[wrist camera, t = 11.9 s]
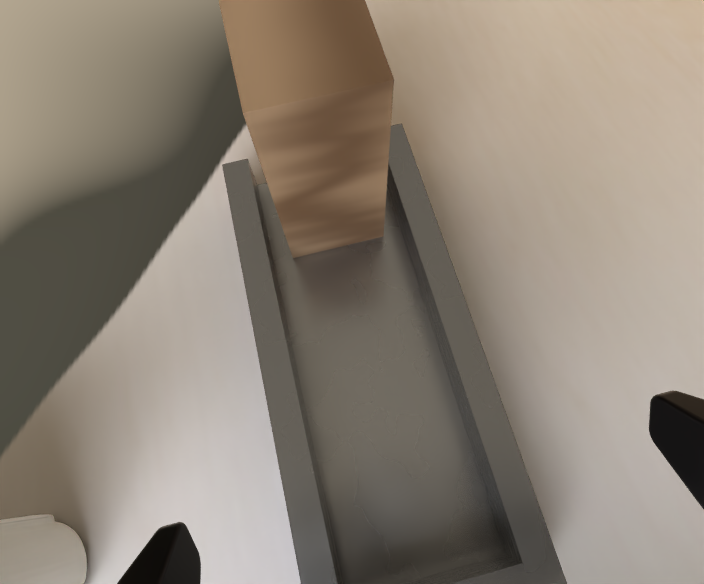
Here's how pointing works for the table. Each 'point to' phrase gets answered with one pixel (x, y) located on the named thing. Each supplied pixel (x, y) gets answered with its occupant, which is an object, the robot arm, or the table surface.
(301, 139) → the wooden tall block
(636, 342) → the table surface
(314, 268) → the gray rectangular tray
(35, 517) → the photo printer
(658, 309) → the table surface
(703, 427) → the robot arm
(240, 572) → the table surface
